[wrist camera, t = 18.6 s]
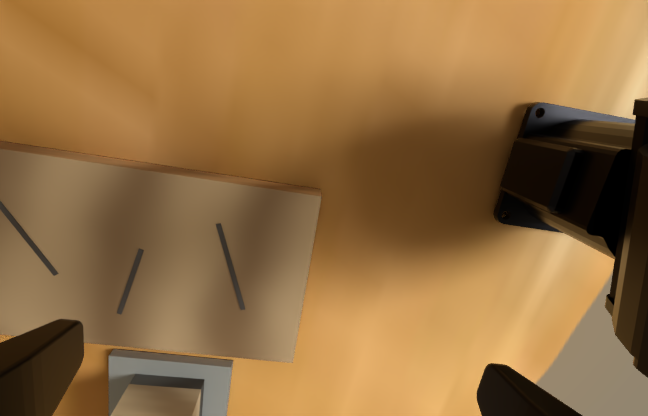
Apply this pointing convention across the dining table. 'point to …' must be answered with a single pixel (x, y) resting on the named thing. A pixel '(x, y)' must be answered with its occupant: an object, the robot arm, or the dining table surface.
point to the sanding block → (161, 397)
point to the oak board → (153, 253)
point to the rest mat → (172, 375)
